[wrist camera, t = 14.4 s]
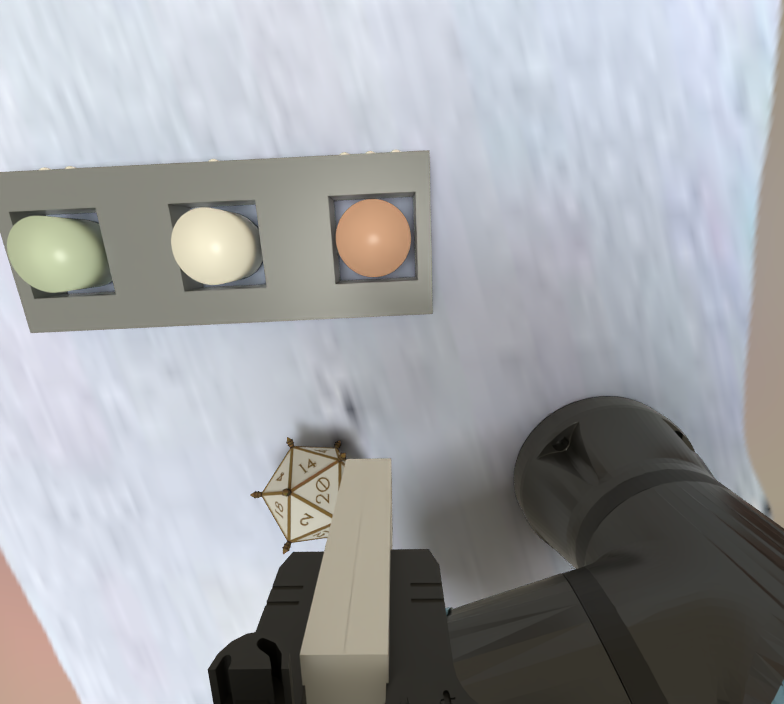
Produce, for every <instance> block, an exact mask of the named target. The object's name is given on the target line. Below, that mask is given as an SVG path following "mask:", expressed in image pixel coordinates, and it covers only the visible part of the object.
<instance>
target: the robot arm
mask: <svg viewBox="0 0 784 704" xmlns="http://www.w3.org/2000/svg"><path fill="white" fill-rule="evenodd" d="M514 489H515V494H516V498H517V500H518V503H519V505H520V507H521V509H522V511H523V513H524V515H525V517H526V519H527V521H528V523H529V524H530V526H531V527H532V529H533V530H534V531H535V533H536V534H537V535H538V536H539V537H540V538H541V539H542V540H543V541H545V542H546V543H547V544H548V545H550V546H551V547H552V548H554V549H555V550H556V551H557V552H558V553H559V554H560V555H561V556H562V557H564V558H565V559H566V560H567V561H568V562H569V563H570V564H571V565H572V566H573V567H575V568H576V569H575V570H572V571H569V572H566V573H562V574H558V575H555V576H552V577H549V578H546V579H543V580H540V581H537V582H534V583H530V584H527V585H524V586H521V587H518V588H515V589H512V590H509V591H506V592H503V593H500V594H497V595H494V596H491V597H488V598H485V599H482V600H479V601H476V602H473V603H470V604H467V605H464V606H461V607H458V608H455V609H453V608H452V607H451V608H445V602H444V595H443V588H442V582H441V575H440V568H439V564H438V562H437V561H436V559H435V558H434V556H433V555H432V553H431V552H430V550H429V549H398V550H392V536H393V527H392V478H391V458H387V459H346V462H345V466H344V471H343V475H342V479H341V483H340V487H339V492H338V496H337V500H336V504H335V508H334V513H333V517H332V521H331V525H330V529H329V534H328V538H327V542H326V546H325V550H324V552H293V553H292V554H291V555H290V556H289V557H288V558H287V560H286V561H285V562H284V563H283V564H282V565H281V566H280V567H279V570H278V573H277V575H276V578H275V581H274V584H273V588H272V590H271V592H270V594H269V597H268V600H267V605H266V606H265V608H264V611H263V613H262V616H261V619H260V621H259V624H258V627H257V630H256V632H254V633H249V634H245V635H243V636H241V637H240V638H238V639H236V640H234V641H232V642H230V643H229V644H228V645H227V646H226V647H225V648H224V649H223V650H222V651H221V652H219V653H218V654H217V656H216V657H215V659H214V661H213V662H212V664H211V665H210V667H209V668H208V674H209V680H210V686H211V692H212V697H213V703H214V704H784V528H782V527H781V526H780V525H778V524H777V523H775V522H774V521H773V520H771V519H770V518H768V517H767V516H766V515H764V514H763V513H761V512H760V511H759V510H757V509H756V508H754V507H753V506H752V505H750V504H749V503H747V502H746V501H745V500H743V499H742V498H740V497H739V496H738V495H736V494H735V493H733V492H732V491H731V490H729V489H728V488H727V487H725V486H724V485H722V484H721V483H720V482H718V481H717V480H716V479H715V478H714V476H713V475H712V473H711V472H710V470H709V469H708V467H707V466H706V465H705V463H704V462H703V460H702V459H701V458H700V457H699V456H698V454H696V453H695V451H694V448H693V446H692V445H691V443H690V441H689V440H688V438H687V437H686V436H685V434H684V433H683V432H682V431H681V430H680V429H679V428H678V427H677V426H676V425H675V424H674V423H673V422H672V421H670V420H669V419H668V418H666V417H665V416H663V415H661V414H660V413H658V412H657V411H655V410H654V409H652V408H650V407H648V406H647V405H645V404H643V403H640V402H638V401H635V400H631V399H627V398H622V397H595V398H589V399H585V400H581V401H578V402H575V403H572V404H570V405H568V406H565V407H564V408H562V409H560V410H558V411H556V412H555V413H553V414H552V415H550V416H549V417H548V418H546V419H545V420H544V421H543V422H542V423H540V424H539V425H538V426H537V427H536V428H535V429H534V431H533V432H532V433H531V434H530V436H529V437H528V438H527V440H526V441H525V443H524V445H523V446H522V448H521V450H520V453H519V455H518V458H517V461H516V465H515V470H514Z"/></svg>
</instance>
